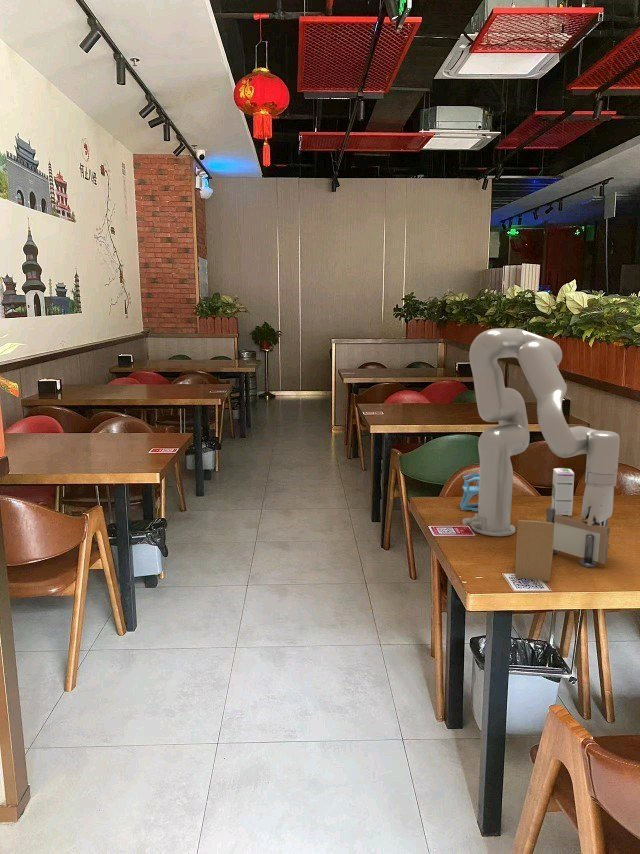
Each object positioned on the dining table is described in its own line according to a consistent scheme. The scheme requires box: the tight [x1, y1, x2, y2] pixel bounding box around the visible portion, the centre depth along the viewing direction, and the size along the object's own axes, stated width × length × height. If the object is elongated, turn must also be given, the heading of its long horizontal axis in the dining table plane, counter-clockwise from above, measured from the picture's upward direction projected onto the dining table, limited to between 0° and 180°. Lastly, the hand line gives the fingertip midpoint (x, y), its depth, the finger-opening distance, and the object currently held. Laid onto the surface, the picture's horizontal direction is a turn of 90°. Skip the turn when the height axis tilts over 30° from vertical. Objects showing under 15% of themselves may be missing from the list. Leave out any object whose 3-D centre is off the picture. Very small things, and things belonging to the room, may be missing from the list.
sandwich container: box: [514, 519, 554, 582], centre depth 166 cm, size 9×15×15 cm, turn 161°
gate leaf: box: [553, 515, 611, 565], centre depth 172 cm, size 14×2×9 cm, turn 42°
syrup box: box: [550, 467, 575, 517], centre depth 212 cm, size 6×6×14 cm
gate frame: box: [545, 507, 610, 569], centre depth 175 cm, size 21×16×12 cm
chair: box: [459, 472, 480, 512], centre depth 216 cm, size 8×8×12 cm
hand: (595, 545), depth 173 cm, fingers closed
